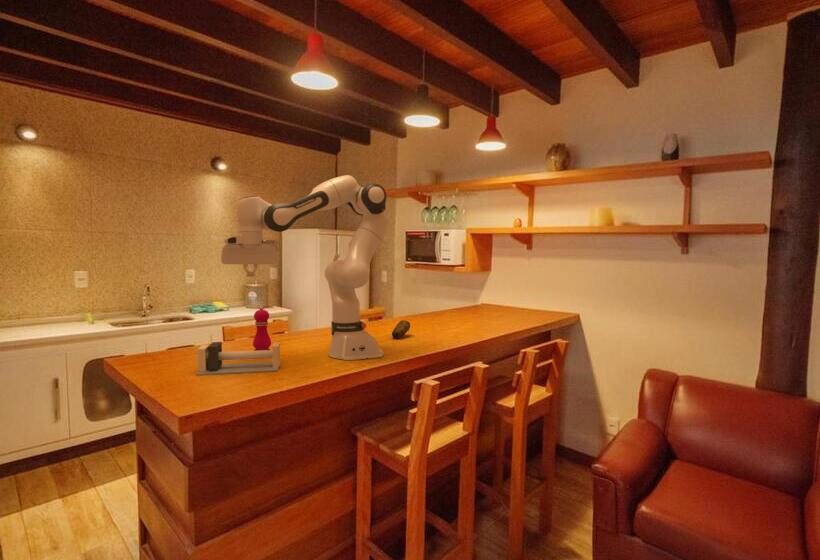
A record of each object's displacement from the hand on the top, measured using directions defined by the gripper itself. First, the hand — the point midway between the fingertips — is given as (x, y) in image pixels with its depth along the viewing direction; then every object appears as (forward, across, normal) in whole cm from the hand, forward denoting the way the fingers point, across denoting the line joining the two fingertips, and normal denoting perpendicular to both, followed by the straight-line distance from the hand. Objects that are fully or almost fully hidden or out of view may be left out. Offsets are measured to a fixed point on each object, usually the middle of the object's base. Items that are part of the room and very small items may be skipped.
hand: (250, 276), depth 165 cm
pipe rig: (+33, +3, +8) cm, 34 cm away
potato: (+33, -65, -38) cm, 82 cm away
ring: (+32, +12, +8) cm, 35 cm away
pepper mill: (+33, -2, -14) cm, 36 cm away
